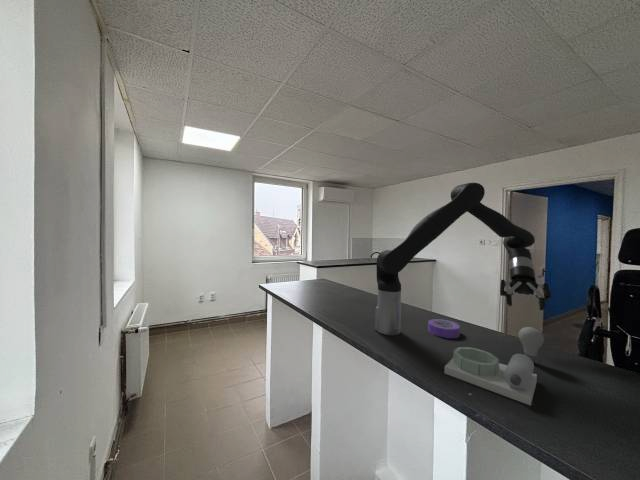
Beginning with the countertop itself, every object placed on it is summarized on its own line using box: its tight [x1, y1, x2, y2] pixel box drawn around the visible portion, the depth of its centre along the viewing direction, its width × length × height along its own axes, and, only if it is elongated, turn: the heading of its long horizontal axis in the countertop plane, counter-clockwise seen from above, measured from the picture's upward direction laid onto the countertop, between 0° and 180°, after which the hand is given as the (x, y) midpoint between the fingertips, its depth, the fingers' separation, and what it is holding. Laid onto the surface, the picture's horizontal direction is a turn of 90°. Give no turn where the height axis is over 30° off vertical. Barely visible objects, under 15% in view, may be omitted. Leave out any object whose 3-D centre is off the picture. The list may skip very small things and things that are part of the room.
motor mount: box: [443, 346, 538, 407], centre depth 70 cm, size 19×14×7 cm
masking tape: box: [427, 318, 461, 339], centre depth 103 cm, size 12×12×4 cm
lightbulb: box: [518, 326, 545, 363], centre depth 79 cm, size 6×6×11 cm
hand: (525, 307), depth 89 cm, fingers open, 8 cm apart
